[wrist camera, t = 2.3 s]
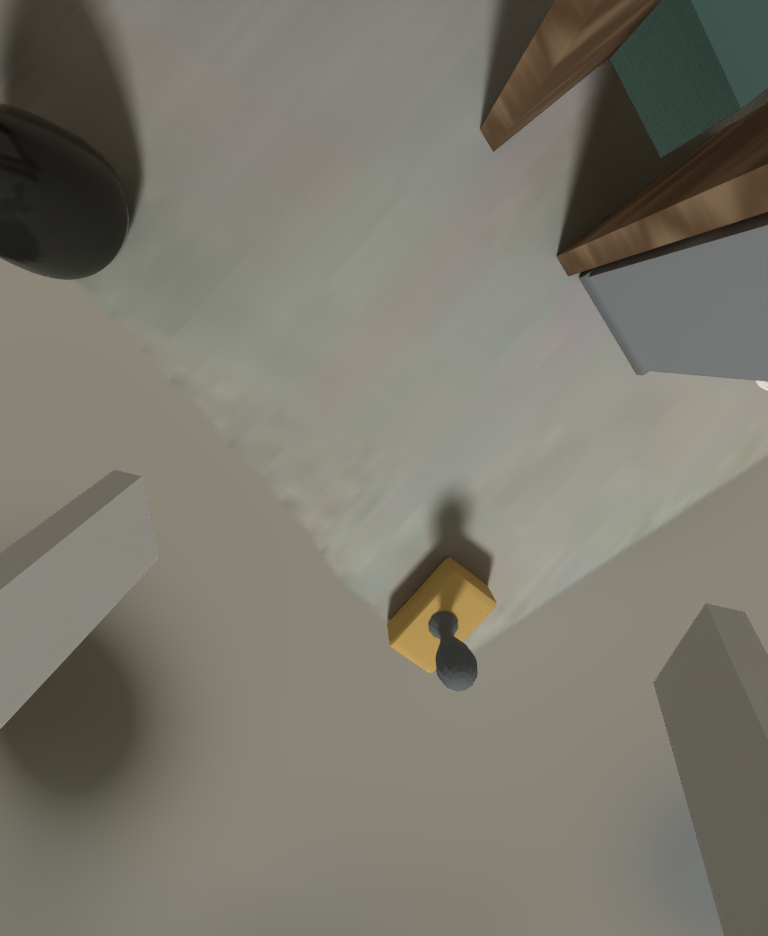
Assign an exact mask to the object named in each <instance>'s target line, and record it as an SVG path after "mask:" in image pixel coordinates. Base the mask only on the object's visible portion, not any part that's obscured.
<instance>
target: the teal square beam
mask: <svg viewBox="0 0 768 936" xmlns="http://www.w3.org/2000/svg"><path fill="white" fill-rule="evenodd" d="M610 61H611V63H612V65H613V66H614V68H615V70H616V72H617V74H618V76H619V78H620V80H621V82H622V84H623V86H624V88H625V90H626V92H627V94H628V96H629V97H630V99H631V101H632V103H633V105H634V107H635V109H636V111H637V113H638V115H639V117H640V119H641V121H642V123H643V125H644V127H645V129H646V130H647V132H648V134H649V136H650V138H651V140H652V142H653V144H654V146H655V148H656V150H657V152H658V154H659V156H660V158H662V157H663V156H665V155H666V154H668V153H670V152H671V151H673V150H675V149H676V148H678V147H679V146H681V145H683V144H684V143H686V142H688V141H689V140H691V139H693V138H694V137H696V136H697V135H699V134H701V133H702V132H704V131H706V130H707V129H709V128H711V127H712V126H714V125H715V124H717V123H719V122H720V121H722V120H724V119H725V118H727V117H729V116H730V115H732V114H733V113H735V112H737V111H738V110H740V109H741V108H743V107H744V106H745V105H747V104H748V103H749V102H751V101H752V100H753V99H754V98H756V97H757V96H758V95H760V94H761V93H762V92H763V91H765V90H766V89H767V88H768V0H661V2H660V3H659V4H658V5H657V6H656V7H655V8H654V9H653V11H652V12H651V13H650V14H649V15H648V16H647V17H646V18H645V20H644V21H643V22H642V23H641V24H640V25H639V26H638V27H637V29H636V30H635V31H634V32H633V33H632V34H631V35H630V36H629V38H628V39H627V40H626V41H625V42H624V43H623V44H622V45H621V47H620V48H619V49H618V50H617V51H616V52H615V53H614V54H613V56H612V57H611V58H610Z"/></svg>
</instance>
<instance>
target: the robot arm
mask: <svg viewBox="0 0 768 936" xmlns="http://www.w3.org/2000/svg"><path fill="white" fill-rule="evenodd" d="M158 559H159V558H158V552H157V547H156V543H155V538H154V533H153V528H152V523H151V519H150V513H149V509H148V504H147V499H146V494H145V489H144V485H143V480H142V476H138V475H134V474H130V473H125V472H121V471H116V470H114V471H112V472H111V473H109V474H108V475H107V476H105V477H104V478H103V479H102V480H100V481H99V482H97V483H96V484H94V485H93V486H92V487H90V488H89V489H88V490H86V491H85V492H84V493H82V494H81V495H79V496H78V497H77V498H75V499H74V500H73V501H71V502H70V503H68V504H67V505H66V506H64V507H63V508H62V509H60V510H59V511H58V512H56V513H55V514H54V515H52V516H51V517H49V518H48V519H47V520H45V521H44V522H43V523H41V524H40V525H38V526H37V527H36V528H34V529H33V530H32V531H30V532H29V533H27V534H26V535H25V536H23V537H22V538H21V539H19V540H18V541H17V542H15V543H14V544H12V545H11V546H10V547H8V548H7V549H6V550H4V551H3V552H2V553H0V729H1V728H2V727H3V726H4V724H5V723H6V722H7V721H8V720H9V719H10V718H11V717H12V716H13V715H14V714H15V713H16V712H17V710H18V709H19V708H20V707H21V706H22V705H23V704H24V703H25V702H26V701H27V700H28V699H29V698H30V696H32V694H33V693H34V692H35V691H36V690H37V689H38V688H39V687H40V686H41V685H42V684H43V683H44V682H45V680H46V679H47V678H48V677H49V676H50V675H51V674H52V673H53V672H54V671H55V670H56V669H57V668H58V666H59V665H60V664H61V663H62V662H63V661H64V660H65V659H66V658H67V657H68V656H69V655H70V653H72V651H73V650H74V649H75V648H76V647H77V646H78V645H79V644H80V643H81V642H82V641H83V640H84V639H85V637H86V636H87V635H88V634H89V633H90V632H91V631H92V630H93V629H94V628H95V627H96V626H97V625H98V623H99V622H100V621H101V620H102V619H103V618H104V617H105V616H106V615H107V614H108V612H110V611H111V609H112V608H113V607H114V606H115V605H116V604H117V603H118V602H119V601H120V600H121V599H122V598H123V597H124V596H125V594H126V593H127V592H128V591H129V590H130V589H131V588H132V587H133V586H134V585H135V584H136V583H137V582H138V580H139V579H140V578H141V577H142V576H143V575H144V574H145V573H146V572H147V571H148V570H149V569H150V567H151V566H152V565H153V564H154V563H155V562H156V561H157V560H158ZM653 683H654V686H655V690H656V694H657V697H658V701H659V704H660V708H661V712H662V715H663V719H664V722H665V726H666V729H667V733H668V737H669V740H670V744H671V747H672V751H673V755H674V758H675V762H676V765H677V769H678V772H679V776H680V780H681V783H682V787H683V790H684V793H685V797H686V801H687V805H688V808H689V812H690V815H691V819H692V822H693V826H694V829H695V833H696V837H697V840H698V844H699V848H700V851H701V855H702V858H703V862H704V865H705V869H706V873H707V876H708V880H709V883H710V887H711V891H712V894H713V898H714V901H715V905H716V908H717V912H718V916H719V919H720V923H721V926H722V930H723V934H724V936H768V654H767V653H766V651H765V649H764V647H763V645H762V643H761V642H760V639H759V638H758V636H757V634H756V632H755V630H754V628H753V626H752V625H751V623H750V621H749V619H748V617H747V615H746V613H745V612H742V611H737V610H733V609H728V608H724V607H720V606H715V605H710V604H705V605H704V607H703V608H702V610H701V611H700V613H699V614H698V616H697V617H696V619H695V620H694V622H693V623H692V625H691V626H690V628H689V629H688V631H687V632H686V634H685V635H684V637H683V638H682V640H681V641H680V643H679V645H678V646H677V648H676V649H675V651H674V652H673V654H672V655H671V657H670V658H669V660H668V661H667V663H666V664H665V666H664V667H663V669H662V671H661V672H660V673H659V675H658V676H657V678H656V679H655V681H654V682H653Z"/></svg>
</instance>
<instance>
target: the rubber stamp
mask: <svg viewBox="0 0 768 936" xmlns="http://www.w3.org/2000/svg"><path fill="white" fill-rule="evenodd" d="M495 606H496V601H495V599H494V597H493V595H492V593H491V592H490V590H489V588H488V586H487V585H486V584H485V583H484V582H482V581H481V580H480V579H478V578H477V577H476V576H474V575H473V574H472V573H471V572H469V571H468V570H467V569H465V568H464V567H463V566H461V565H460V564H459V563H458V562H456V561H455V560H454V559H452V558H451V557H448V558H446V559H445V560H444V561H443V562H442V563H441V564H440V566H439V567H438V568H437V569H436V570H435V571H434V572H433V573H432V574H431V575H430V577H429V578H428V579H427V580H426V581H425V582H424V583H423V584H422V585H421V587H420V588H419V589H418V590H417V591H416V592H415V593H414V594H413V595H412V597H411V598H410V599H409V600H408V601H407V602H406V603H405V604H404V605H403V606H402V608H401V609H400V610H399V611H398V612H397V613H396V614H395V615H394V616H393V618H392V619H391V620H390V621H389V622H388V623H387V627H388V636H389V644H390V646H391V647H392V648H394V649H395V650H396V651H398V652H399V653H401V654H402V655H404V656H405V657H406V658H408V659H410V660H411V661H412V662H414V663H415V664H417V665H418V666H419V667H421V668H422V669H424V670H425V671H427V672H428V673H431V672H434V671H435V670H436V672H437V675H438V677H439V679H440V680H441V681H442V682H443V684H444V685H445V686H446V687H447V688H450V689H452V690H455V691H463V690H466V689H468V688H469V687H471V686H472V685H473V683H474V681H475V679H476V677H477V661H476V658H475V656H474V655H473V653H472V652H471V651H470V650H469V648H468V647H467V646H466V645H465V644H464V643H463V641H464V640H465V639H466V637H467V636H468V635H469V634H470V633H471V632H472V631H473V630H474V629H475V628H476V627H477V626H478V625H479V624H480V623H481V622H482V621H483V619H484V618H485V617H486V616H487V615H488V614H489V613H490V612H491V611H492V610H493V609H494V608H495Z"/></svg>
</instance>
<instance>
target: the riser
mask: <svg viewBox="0 0 768 936" xmlns="http://www.w3.org/2000/svg"><path fill="white" fill-rule="evenodd" d="M660 2H661V0H555V1H554V2H553V4H552V6H551V8H550V9H549V11H548V13H547V14H546V16H545V18H544V20H543V21H542V23H541V25H540V27H539V28H538V30H537V32H536V33H535V35H534V37H533V39H532V40H531V42H530V44H529V46H528V47H527V49H526V51H525V52H524V54H523V56H522V58H521V59H520V61H519V63H518V65H517V66H516V68H515V70H514V71H513V73H512V75H511V77H510V78H509V80H508V82H507V83H506V85H505V87H504V89H503V90H502V92H501V94H500V96H499V97H498V99H497V101H496V102H495V104H494V106H493V108H492V109H491V111H490V113H489V115H488V116H487V118H486V120H485V121H484V123H483V125H482V127H481V128H480V130H481V132H482V134H483V135H484V137H485V139H486V140H487V142H488V144H489V145H490V147H491V149H492V150H493V152H494V151H495V150H496V149H497V148H499V147H500V146H501V145H502V144H504V143H505V142H506V141H507V140H509V139H510V138H511V137H512V136H513V135H515V134H516V133H517V132H518V131H520V130H521V129H522V128H523V127H525V126H526V125H527V124H528V123H529V122H531V121H532V120H533V119H534V118H536V117H537V116H538V115H539V114H540V113H542V112H543V111H544V110H545V109H547V108H548V107H549V106H550V105H552V104H553V103H554V102H555V101H556V100H558V99H559V98H560V97H561V96H563V95H564V94H565V93H566V92H568V91H569V90H570V89H571V88H572V87H574V86H575V85H576V84H577V83H579V82H580V81H581V80H582V79H583V78H585V77H586V76H587V75H588V74H590V73H591V72H592V71H593V70H595V69H596V68H597V67H598V66H599V65H601V64H602V63H603V62H604V61H606V60H607V59H608V58H609V57H611V56H612V55H613V54H614V53H615V52H616V51H617V50H618V49H619V48H620V47H621V45H622V44H623V43H624V42H625V41H626V40H627V39H628V38H629V36H630V35H631V34H632V33H633V32H634V31H635V30H636V29H637V27H638V26H639V25H640V24H641V23H642V22H643V21H644V20H645V18H646V17H647V16H648V15H649V14H650V13H651V12H652V11H653V9H654V8H655V7H656V6H657V5H658V4H659V3H660ZM766 212H768V103H767V104H765V105H764V106H762V107H760V108H759V109H757V110H755V111H753V112H752V113H750V114H748V115H747V116H745V117H743V118H741V119H740V120H738V121H736V122H735V123H733V124H731V125H730V126H728V127H726V128H724V129H723V130H721V131H719V132H718V133H716V134H715V135H713V136H712V137H711V138H709V139H708V140H707V141H705V142H704V143H703V144H702V145H700V146H699V147H698V148H696V149H695V150H694V151H693V152H691V153H690V154H689V155H687V156H686V157H685V158H683V159H682V160H681V161H680V162H678V163H677V164H676V165H674V166H673V167H672V168H671V169H669V170H668V171H667V172H665V173H664V174H663V175H661V176H660V177H659V178H658V179H656V180H655V181H654V182H652V183H651V184H650V185H649V186H647V187H646V188H645V189H643V190H642V191H641V192H639V193H638V194H637V195H636V196H634V197H633V198H632V199H630V200H629V201H628V202H627V203H625V204H624V205H623V206H621V207H620V208H619V209H618V210H616V211H615V212H614V213H612V214H611V215H610V216H608V217H607V218H606V219H605V220H603V221H602V222H601V223H599V224H598V225H597V226H596V227H594V228H593V229H592V230H590V231H589V232H588V233H586V234H585V235H584V236H583V237H581V238H580V239H579V240H577V241H576V242H575V243H574V244H572V245H571V246H570V247H568V248H567V249H566V250H564V251H563V252H562V253H561V254H559V255H558V256H557V258H558V260H559V261H560V263H561V265H562V266H563V268H564V270H565V271H566V273H567V275H568V276H571V275H574V274H577V273H580V272H583V271H586V270H589V269H592V268H595V267H598V266H601V265H605V264H608V263H611V262H614V261H617V260H620V259H623V258H626V257H629V256H632V255H636V254H639V253H642V252H645V251H648V250H651V249H654V248H657V247H660V246H663V245H666V244H670V243H673V242H676V241H679V240H682V239H685V238H688V237H691V236H694V235H697V234H701V233H704V232H707V231H710V230H713V229H716V228H719V227H722V226H725V225H728V224H731V223H735V222H738V221H741V220H744V219H747V218H750V217H753V216H756V215H759V214H762V213H766Z"/></svg>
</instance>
